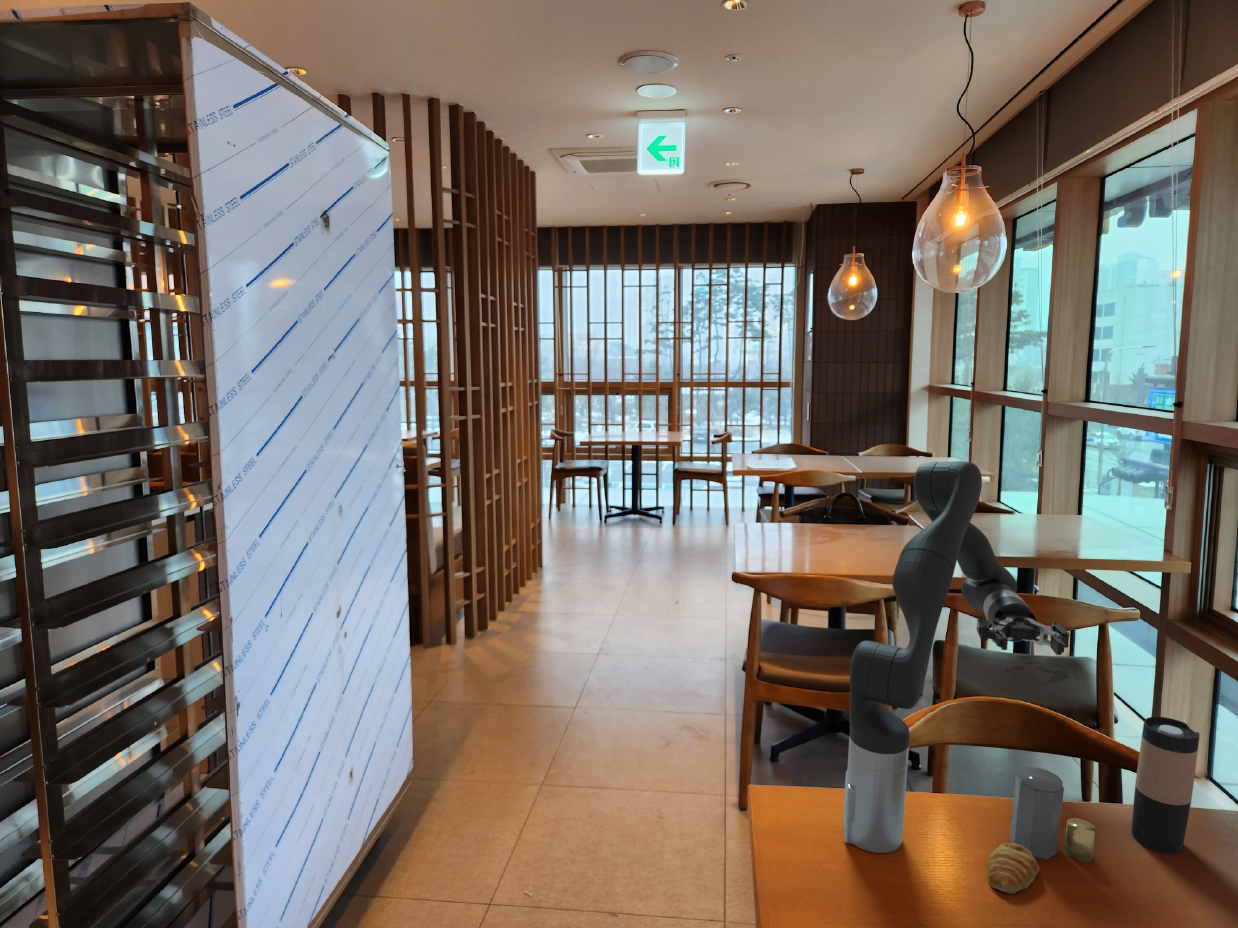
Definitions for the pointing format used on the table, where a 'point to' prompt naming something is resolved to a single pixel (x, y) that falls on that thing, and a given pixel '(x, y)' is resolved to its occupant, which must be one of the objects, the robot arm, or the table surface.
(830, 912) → the table surface
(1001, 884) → the pastry
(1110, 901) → the table surface
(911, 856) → the table surface
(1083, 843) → the gold cylinder
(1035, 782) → the canister
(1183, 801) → the travel mug
